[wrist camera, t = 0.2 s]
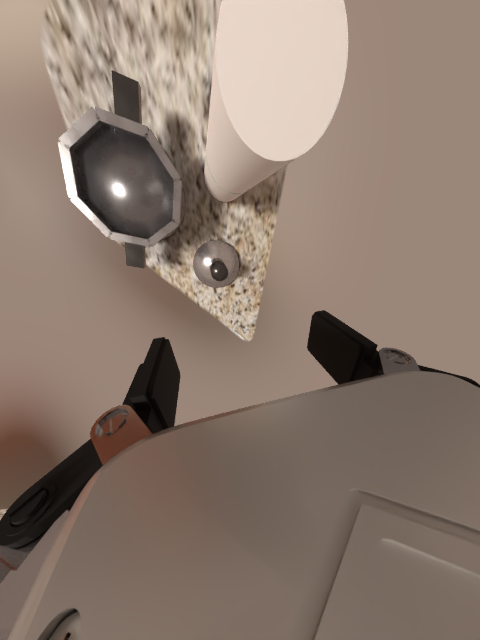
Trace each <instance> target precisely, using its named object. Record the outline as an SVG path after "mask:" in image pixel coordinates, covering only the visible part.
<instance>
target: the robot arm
mask: <svg viewBox="0 0 480 640" xmlns="http://www.w3.org/2000/svg"><path fill="white" fill-rule="evenodd" d="M307 348H308V351H310V353H311V354H312V355H313V356H314V357H315V359H316V360H317V361H318V362H319V363H320V364H321V365H322V366H323V368H324V369H325V370H326V371H327V372H328V373H329V374H330V375H331V376H332V378H333V379H334V380H335V381H336V382H337V383H338V384H339V385H336V386H331V387H328V388H323V389H319V390H315V391H311V392H306V393H302V394H298V395H294V396H290V397H286V398H282V399H278V400H274V401H269V402H265V403H261V404H258V405H253V406H249V407H245V408H242V409H238V410H233V411H229V412H225V413H221V414H218V415H214V416H210V417H207V418H202V419H199V420H195V421H191V422H187V423H184V424H181V425H177V426H174V423H175V414H176V407H177V398H178V391H179V383H180V371H179V369H178V365H177V362H176V360H175V356H174V353H173V350H172V347H171V344H170V342H169V340H168V339H165V338H164V337H162V338H157V339H153V341H152V344H151V346H150V349H149V351H148V353H147V356H146V358H145V361H144V363H143V364H140V366H139V367H138V370H137V372H136V374H135V377H134V379H133V381H132V384H131V386H130V388H129V391H128V393H127V395H126V398H125V400H124V402H123V405H119V406H116V407H114V408H111V409H110V410H108V411H106V412H105V413H104V414H103V415H102V416H100V417H99V418H98V419H97V420H96V422H95V423H94V425H93V426H92V428H91V431H90V438H91V439H90V440H89V441H88V442H86V443H85V444H83V445H82V446H81V447H80V448H79V449H78V450H76V451H75V452H74V453H73V454H71V455H70V456H69V457H68V458H66V459H65V460H64V461H62V462H61V463H60V464H59V465H57V466H56V467H55V468H54V469H53V470H52V471H50V472H49V473H48V474H47V475H45V476H44V477H43V478H41V479H40V480H39V481H38V482H36V483H35V484H34V485H33V486H31V487H30V488H29V489H28V490H26V491H25V492H24V493H23V494H22V495H21V496H20V497H19V498H18V499H17V500H16V501H15V502H14V503H13V504H12V505H11V507H10V508H9V509H8V510H7V511H6V513H5V514H4V516H3V517H2V519H1V520H0V640H480V385H479V384H478V383H477V382H475V381H473V380H472V379H469V378H467V377H463V376H459V375H455V374H451V373H447V372H443V371H439V370H435V369H432V368H427V367H423V366H420V365H417V363H416V361H415V359H414V358H413V357H412V356H410V355H409V354H407V353H406V352H403V351H401V350H398V349H394V348H382V349H380V350H379V352H378V351H377V350H376V348H377V344H375V343H374V342H372V341H370V340H369V339H367V338H366V337H364V336H363V335H361V334H360V333H358V332H357V331H355V330H354V329H352V328H351V327H349V326H348V325H346V324H345V323H343V322H342V321H340V320H339V319H337V318H336V317H334V316H332V315H331V314H329V313H328V312H326V311H317V312H315V313H314V314H313V315H312V320H311V326H310V333H309V339H308V346H307ZM78 611H79V612H78Z"/></svg>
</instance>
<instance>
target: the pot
mask: <svg viewBox="0 0 480 640" xmlns="http://www.w3.org/2000/svg"><path fill="white" fill-rule="evenodd" d="M112 82H113V95H114V108H115V114H113V113H111V112H108V111H105V110H103V109H100V108H97V107H95V110H96V111H95V110H94V109H93V108H92V107H91V108H90V109H89V110H88V111H87V112H86V113H85V114H84V115H83V116H82V117H81V118H80V119H79V120H78V121H77V122H76V123H74V124H73V125H72V126H71V127H70V128H69V129H68V130H67V131H66V132H65V133H64V134H63V135H62V136H61V137H60V138H59V140H60V141H61V142H62V143H59V142H58V146H59V152H60V156H61V161H62V167H63V172H64V177H65V182H66V187H67V193H68V197H72V198H71V199H70V200H71V201H72V202H73V203H74V204H75V205H76V206H77V207H78V208H79V209H80V210H81V211H82V212H83V213H84V214H85V215H86V216H87V217H88V218H89V219H90V220H91V221H92V222H93V223H94V224H95V225H96V226H97V227H98V228H99V229H100V231H101V232H102V233H103V234H104V235H105V236H106V237H110V239H113V240H118V241H123V242H125V251H126V263H127V265H128V266H134V267H140V268H145V267H146V259H145V246H148V247H150V246H154V245H155V244H156V243H157V242H159V241H160V240H162V239H164V238H166V237H168V236H170V235H172V234H173V233H174V232H175V231H176V230H177V229H178V228H179V226H180V225H181V223H182V220H183V218H184V214H185V195H184V190H183V187H182V183H183V182H182V181H181V180H182V179H181V177H180V175H179V174H178V172H177V171H176V169H175V167H174V166H173V164H172V162H171V160H170V159H169V157H168V155H167V154H166V153H165V151H164V150H163V148H162V147H161V145H160V143H159V142H158V140H157V139H156V137H155V135H154V134H153V132H152V131H151V129H150V130H149V128H148V127H147V126H145V125H142V113H141V87H140V85H139V83H138V82H137V81H135V80H133V79H130V78H128V77H126V76H124V75H121V74H119V73H117V72H115V71H112Z"/></svg>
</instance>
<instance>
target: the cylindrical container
mask: <svg viewBox="0 0 480 640" xmlns="http://www.w3.org/2000/svg"><path fill="white" fill-rule="evenodd" d="M347 57H348V27H347V17H346V11H345V5H344V0H222V2H221V7H220V13H219V19H218V24H217V32H216V43H215V55H214V66H213V77H212V88H211V99H210V111H209V122H208V133H207V144H206V156H205V167H204V179H205V184H206V187H207V189H208V191H209V192H210V194H211V195H212V196H213V197H214V198H216V199H217V200H219V201H222V202H230V201H232V200H234V199H236V198H237V197H239V196H240V195H242V194H243V193H245V192H246V191H248V190H249V189H251V188H252V187H254V186H256V185H257V184H259V183H260V182H262V181H263V180H265V179H266V178H268V177H269V176H271V175H272V174H274V173H275V172H277V171H278V170H280V169H281V168H283V167H284V166H286V165H287V164H289V163H290V162H292V161H293V160H295V159H296V158H298V157H299V156H301V155H303V154H304V153H306V152H307V151H308V150H309V149H310V148H311V147H312V146H313V145H315V143H316V142H317V141H318V140H319V138H320V137H321V136H322V135H323V133H324V132H325V130H326V128H327V127H328V125H329V123H330V122H331V120H332V117H333V115H334V113H335V110H336V108H337V105H338V103H339V99H340V96H341V92H342V89H343V85H344V80H345V73H346V67H347Z"/></svg>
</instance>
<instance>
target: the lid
mask: <svg viewBox="0 0 480 640" xmlns="http://www.w3.org/2000/svg"><path fill="white" fill-rule="evenodd" d="M193 267H194V271H195V274H196V276H197V277H198V279H199V280H200V281H201V282H202V283H204V284H205V285H207V286H210V287H214V288H220V287H224V286H226V285H228V284H230V283H231V282H232V281H233V280H234V279H235V277H236V276H237V274H238V271H239V259H238V256H237V254H236V252H235V250H234V249H233V248H232V247H231V246H230V245H228V244H227V243H225V242H222V241H218V240H213V241H208V242H206V243H204V244H202V245H201V246H200V247H199V248H198V250H197V251H196V253H195V256H194V260H193Z"/></svg>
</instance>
